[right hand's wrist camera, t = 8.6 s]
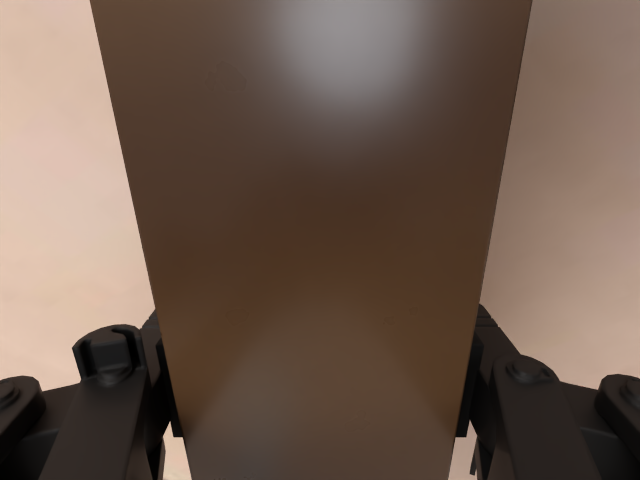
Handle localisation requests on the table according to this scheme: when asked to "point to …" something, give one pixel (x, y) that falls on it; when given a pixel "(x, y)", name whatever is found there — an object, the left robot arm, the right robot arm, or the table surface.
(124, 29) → the beam
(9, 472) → the right robot arm
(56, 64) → the table surface
